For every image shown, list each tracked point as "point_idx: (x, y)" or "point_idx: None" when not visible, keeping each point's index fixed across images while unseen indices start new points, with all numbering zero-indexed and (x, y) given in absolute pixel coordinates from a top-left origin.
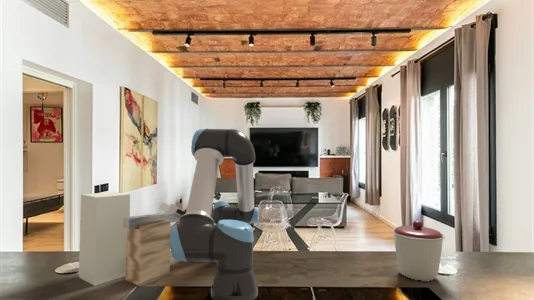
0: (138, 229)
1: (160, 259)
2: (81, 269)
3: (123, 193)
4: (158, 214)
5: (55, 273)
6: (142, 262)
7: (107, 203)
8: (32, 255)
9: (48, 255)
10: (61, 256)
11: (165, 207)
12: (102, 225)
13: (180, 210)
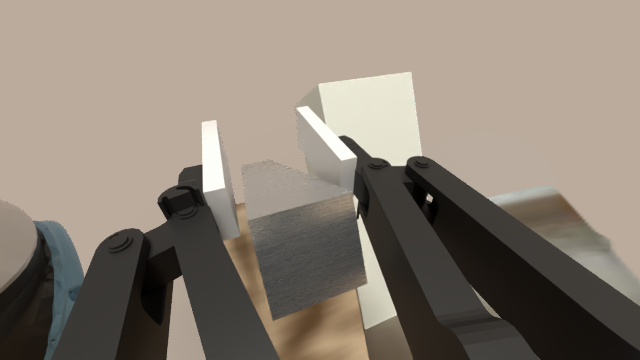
0: (241, 203)
1: None
2: None
3: (350, 80)
4: (256, 173)
5: None
6: None
7: None
8: (535, 201)
9: (541, 211)
10: (538, 222)
11: (306, 140)
12: (311, 169)
13: (180, 181)
